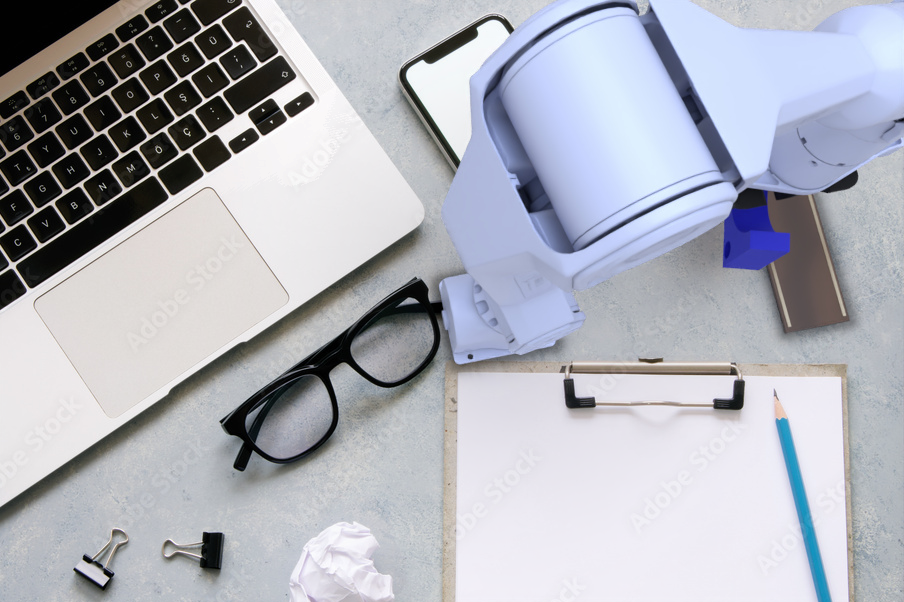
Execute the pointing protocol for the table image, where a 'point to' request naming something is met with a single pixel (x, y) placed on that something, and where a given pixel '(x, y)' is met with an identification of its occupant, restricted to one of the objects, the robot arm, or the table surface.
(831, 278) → the inlay
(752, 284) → the table surface
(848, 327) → the table surface
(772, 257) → the cable clip
